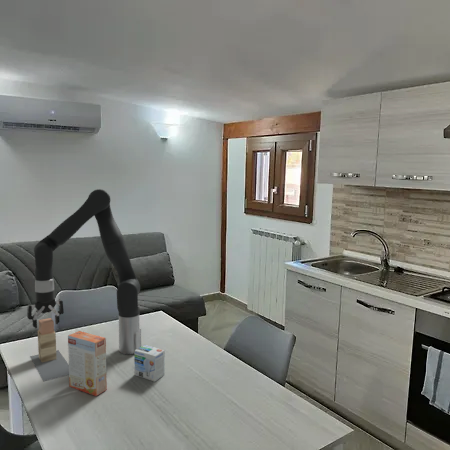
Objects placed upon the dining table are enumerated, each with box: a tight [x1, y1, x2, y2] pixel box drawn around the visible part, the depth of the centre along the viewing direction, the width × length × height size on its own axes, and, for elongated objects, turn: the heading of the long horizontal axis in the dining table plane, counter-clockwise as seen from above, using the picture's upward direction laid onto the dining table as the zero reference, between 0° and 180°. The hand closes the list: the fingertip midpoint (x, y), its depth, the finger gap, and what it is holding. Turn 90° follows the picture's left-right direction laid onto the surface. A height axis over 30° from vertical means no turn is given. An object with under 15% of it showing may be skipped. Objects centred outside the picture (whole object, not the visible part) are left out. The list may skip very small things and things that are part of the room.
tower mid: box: [37, 330, 57, 349], centre depth 186 cm, size 6×6×6 cm
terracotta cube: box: [38, 317, 55, 335], centre depth 185 cm, size 5×5×5 cm
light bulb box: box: [133, 344, 166, 382], centre depth 174 cm, size 11×7×11 cm, turn 62°
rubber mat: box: [29, 349, 69, 382], centre depth 181 cm, size 26×12×1 cm, turn 35°
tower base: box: [37, 344, 57, 362], centre depth 186 cm, size 6×6×6 cm
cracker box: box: [67, 330, 108, 397], centre depth 162 cm, size 14×6×21 cm, turn 62°
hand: (46, 325), depth 185 cm, fingers open, 8 cm apart
